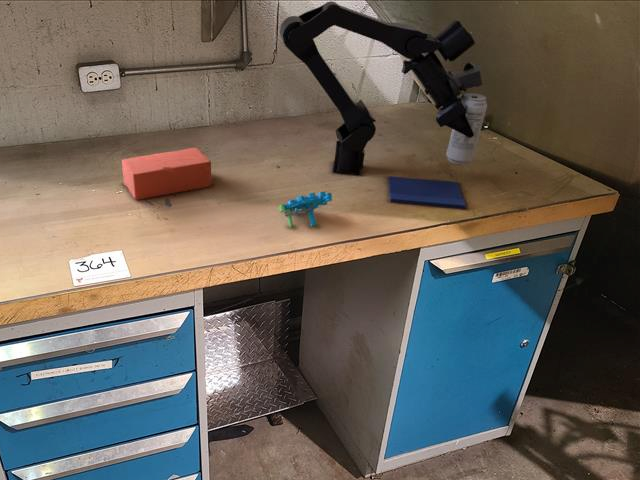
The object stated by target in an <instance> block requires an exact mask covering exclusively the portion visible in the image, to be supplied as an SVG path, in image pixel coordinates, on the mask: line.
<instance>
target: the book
mask: <svg viewBox="0 0 640 480" xmlns="http://www.w3.org/2000/svg"><path fill="white" fill-rule="evenodd" d="M388 189H389V201H390V202H389V203H396V204H407V205H417V206H419V205H420V206H427V207H429V206H430V207H438V208H439V207H440V208H450V209H462V210H466V207H467V204H466V201H465V199H464V197H463V194H462V190H461V187H460V184H459V182H457V181H446V180H436V179H424V178H414V177H403V176H401V177H400V176H391V175H390V176H388Z"/></svg>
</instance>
